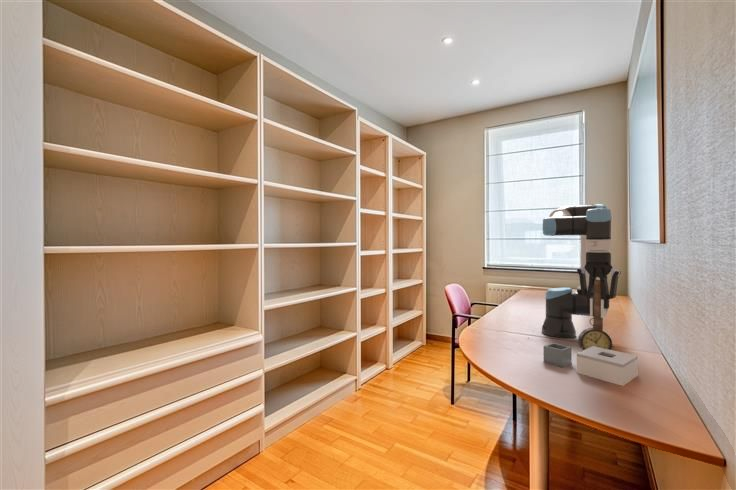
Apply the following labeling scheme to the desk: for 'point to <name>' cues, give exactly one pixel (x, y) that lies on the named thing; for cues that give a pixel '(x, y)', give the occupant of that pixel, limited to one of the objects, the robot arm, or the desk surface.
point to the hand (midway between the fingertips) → (598, 316)
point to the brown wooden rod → (597, 306)
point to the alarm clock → (594, 339)
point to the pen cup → (557, 354)
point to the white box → (607, 365)
